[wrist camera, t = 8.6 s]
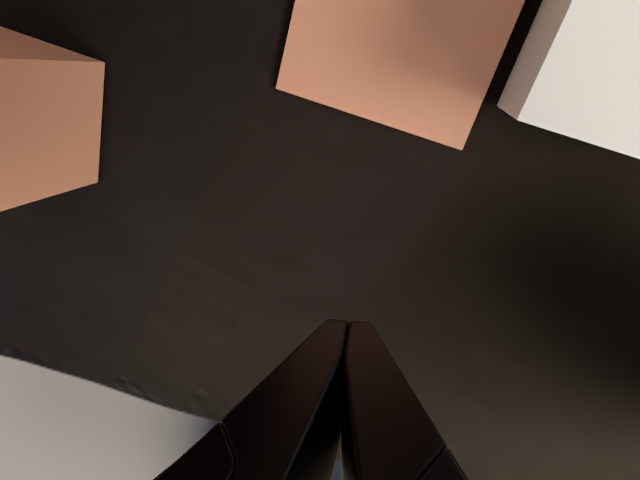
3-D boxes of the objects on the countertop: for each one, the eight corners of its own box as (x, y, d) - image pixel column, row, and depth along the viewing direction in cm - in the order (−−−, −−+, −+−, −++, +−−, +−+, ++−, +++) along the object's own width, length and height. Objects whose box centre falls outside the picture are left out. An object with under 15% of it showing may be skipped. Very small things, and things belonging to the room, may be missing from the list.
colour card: (532, -20, 15) (534, -22, 14) (461, 148, 17) (461, 150, 17) (316, -78, 16) (313, -81, 16) (279, 88, 18) (275, 88, 18)
